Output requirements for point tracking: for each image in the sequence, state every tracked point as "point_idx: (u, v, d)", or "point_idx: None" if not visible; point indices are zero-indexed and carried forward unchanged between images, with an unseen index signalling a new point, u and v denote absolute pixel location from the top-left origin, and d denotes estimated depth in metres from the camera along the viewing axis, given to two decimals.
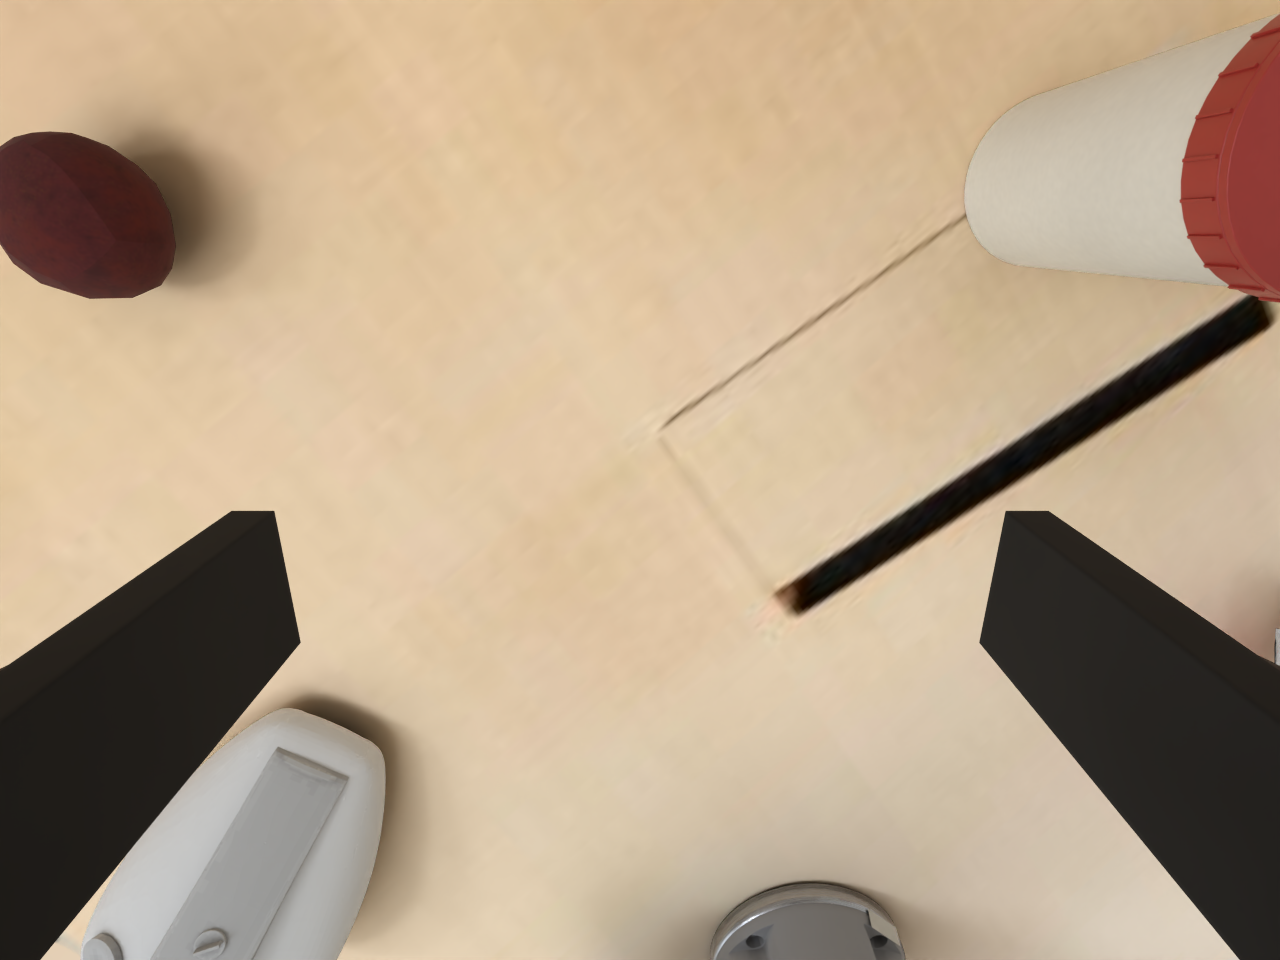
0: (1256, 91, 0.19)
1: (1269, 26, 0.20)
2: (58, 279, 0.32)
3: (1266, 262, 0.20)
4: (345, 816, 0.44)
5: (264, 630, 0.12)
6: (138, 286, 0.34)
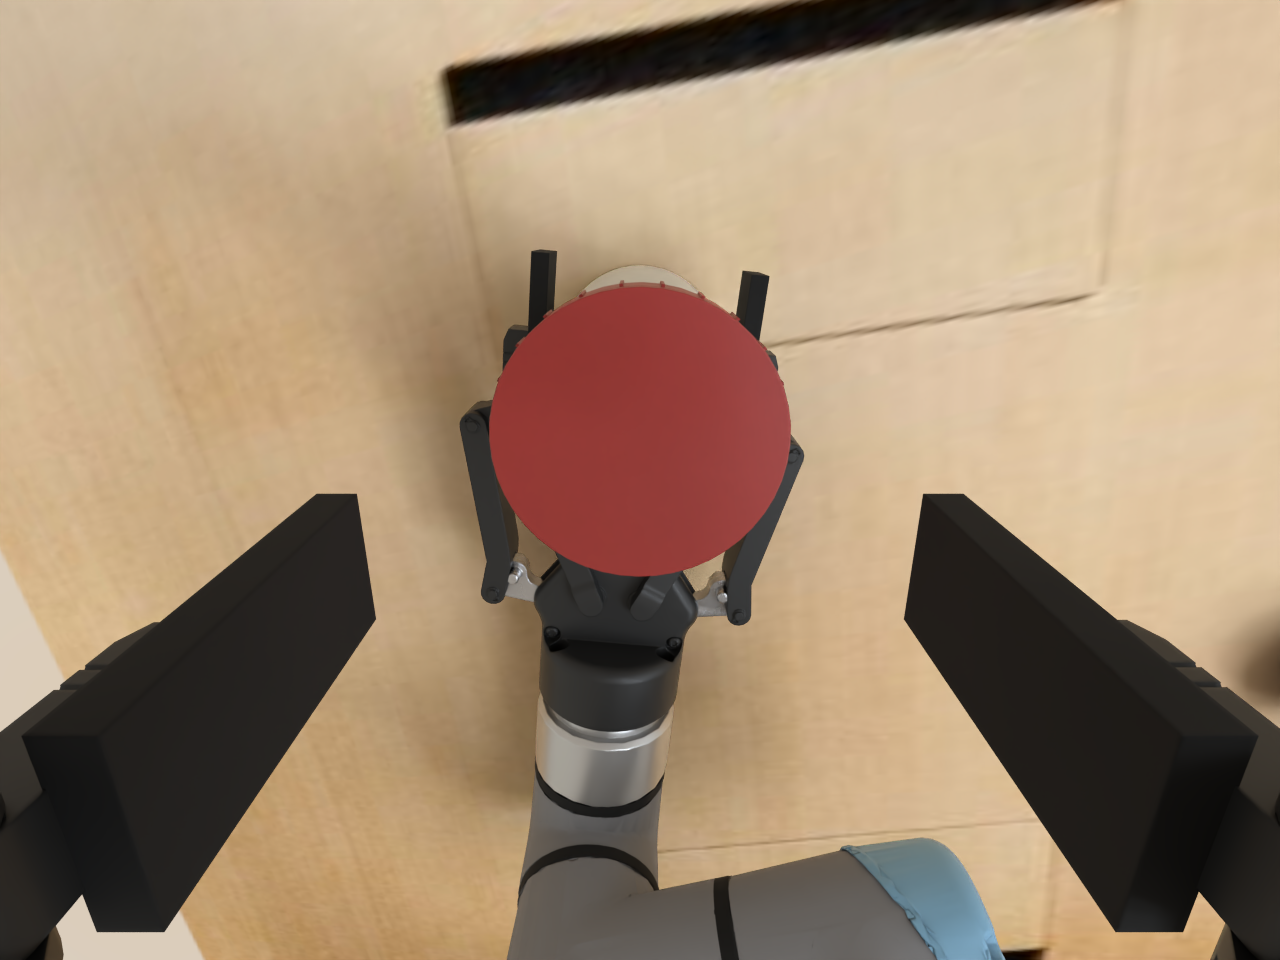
0: (739, 535, 0.22)
1: None
2: None
3: (769, 386, 0.20)
4: None
5: (349, 605, 0.12)
6: None
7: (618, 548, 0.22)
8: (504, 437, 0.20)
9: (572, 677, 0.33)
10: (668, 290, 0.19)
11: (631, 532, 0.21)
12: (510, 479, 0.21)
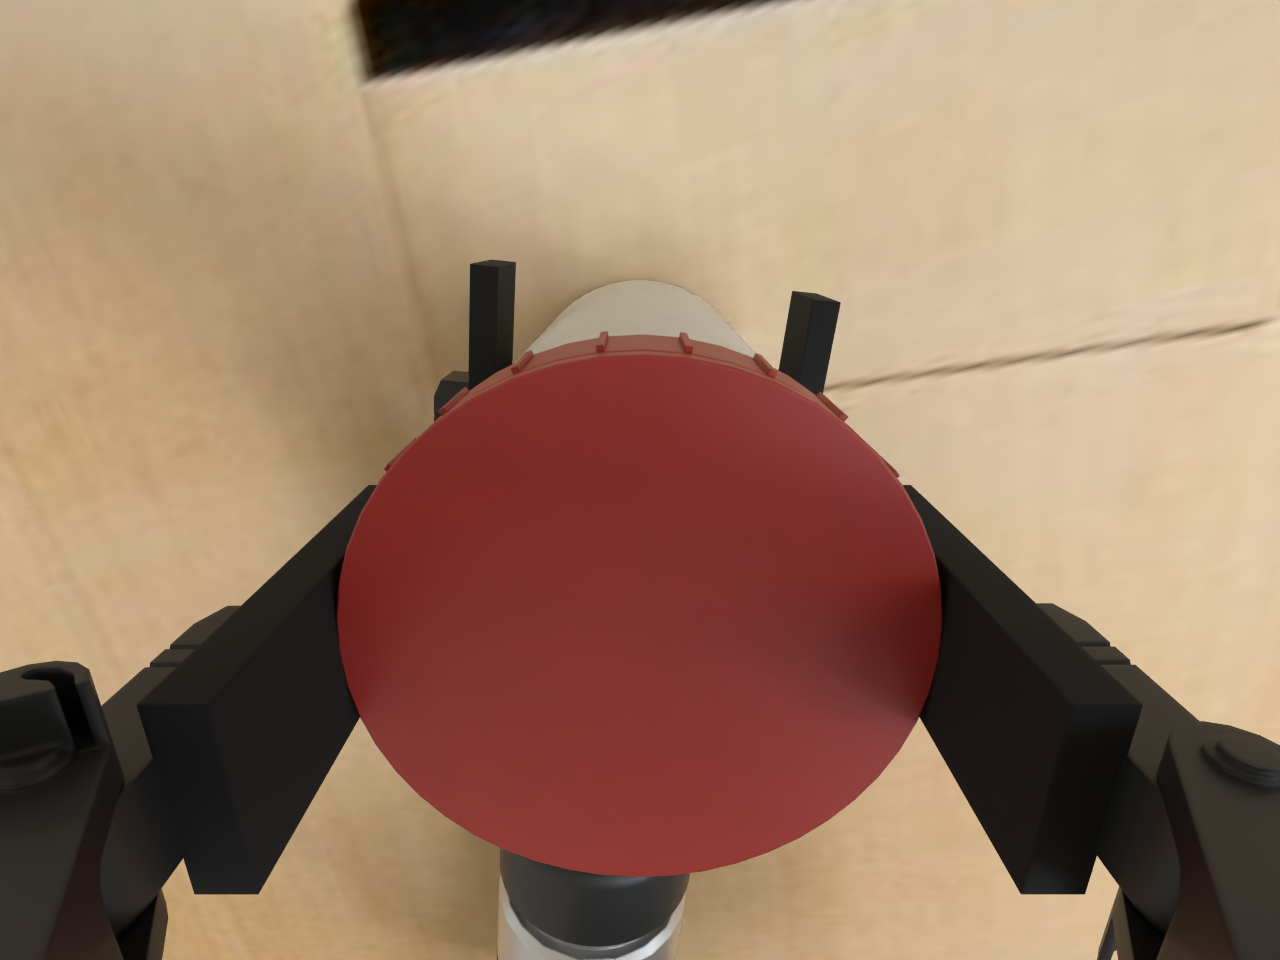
0: (829, 810, 0.11)
1: None
2: None
3: (905, 552, 0.10)
4: None
5: None
6: None
7: (599, 833, 0.11)
8: (368, 646, 0.10)
9: (543, 875, 0.23)
10: (701, 362, 0.09)
11: (623, 807, 0.11)
12: (386, 719, 0.11)
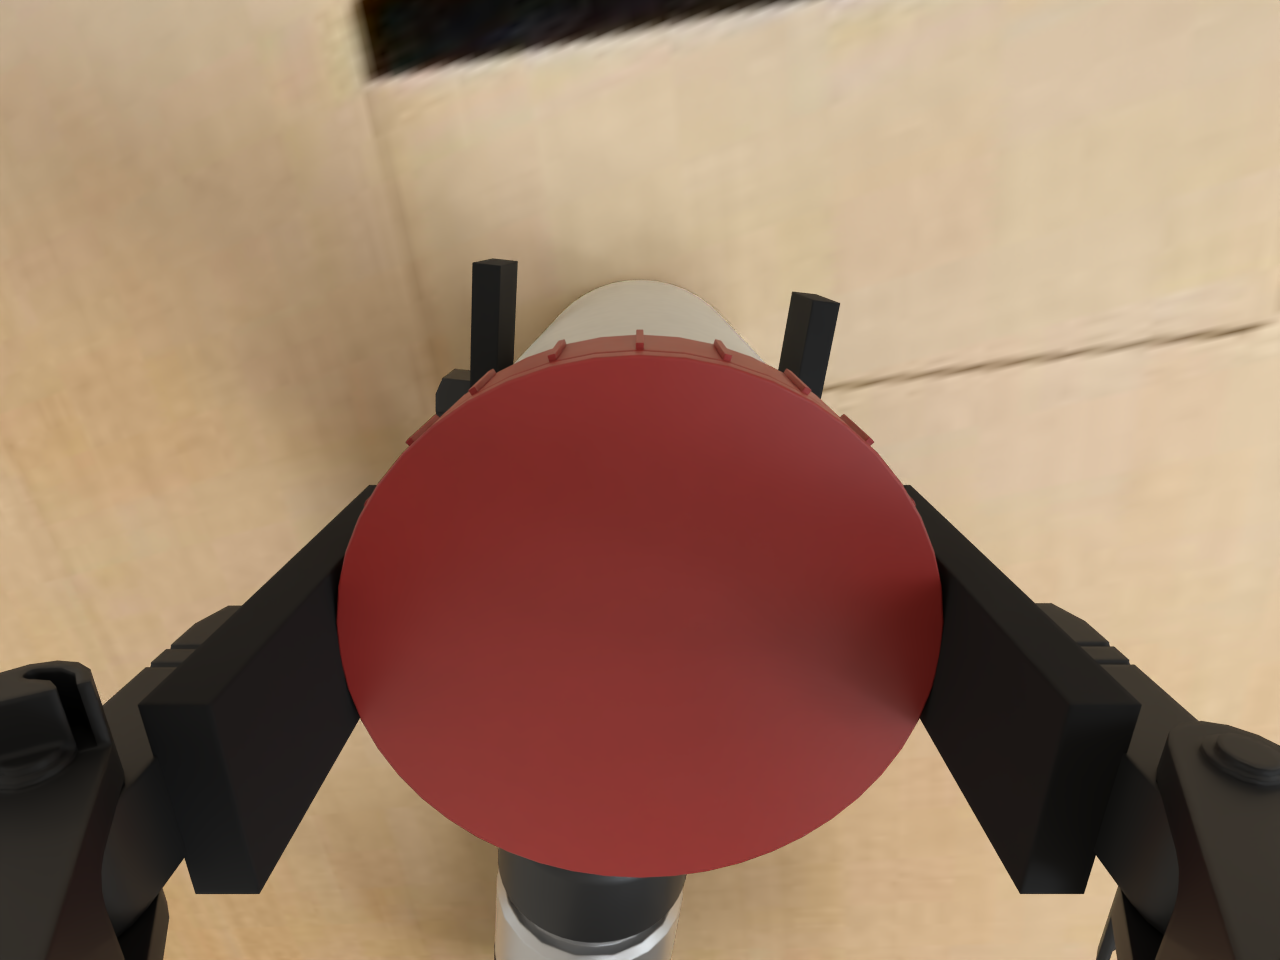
0: (834, 425, 0.09)
1: None
2: None
3: (470, 433, 0.09)
4: None
5: None
6: None
7: (875, 666, 0.10)
8: (664, 857, 0.12)
9: (541, 871, 0.23)
10: (339, 648, 0.10)
11: (837, 647, 0.10)
12: (742, 845, 0.12)
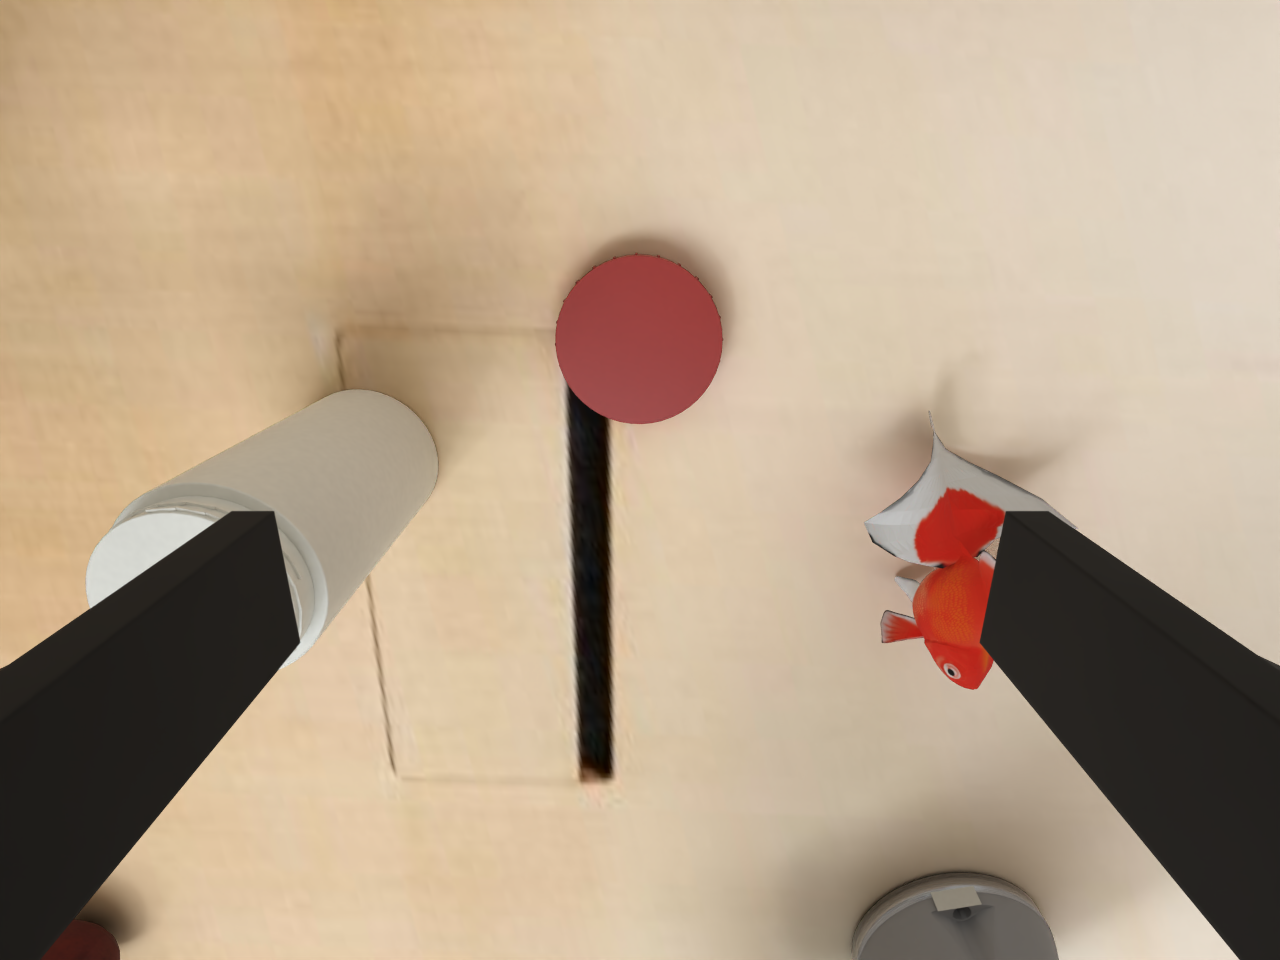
0: (613, 417, 0.38)
1: None
2: None
3: (695, 392, 0.38)
4: None
5: (264, 630, 0.12)
6: None
7: (575, 359, 0.37)
8: (609, 271, 0.36)
9: None
10: None
11: (588, 361, 0.37)
12: (587, 284, 0.36)
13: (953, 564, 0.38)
